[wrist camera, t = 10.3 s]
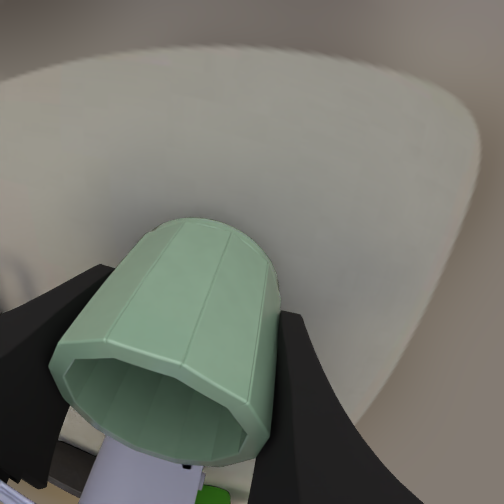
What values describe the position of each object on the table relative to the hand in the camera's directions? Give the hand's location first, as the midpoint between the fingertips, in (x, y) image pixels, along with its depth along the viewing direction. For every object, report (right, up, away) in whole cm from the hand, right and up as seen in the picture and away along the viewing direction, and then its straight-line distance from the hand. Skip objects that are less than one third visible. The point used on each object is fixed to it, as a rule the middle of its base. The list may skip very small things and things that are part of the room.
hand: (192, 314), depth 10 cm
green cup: (0, +1, +1) cm, 1 cm away
